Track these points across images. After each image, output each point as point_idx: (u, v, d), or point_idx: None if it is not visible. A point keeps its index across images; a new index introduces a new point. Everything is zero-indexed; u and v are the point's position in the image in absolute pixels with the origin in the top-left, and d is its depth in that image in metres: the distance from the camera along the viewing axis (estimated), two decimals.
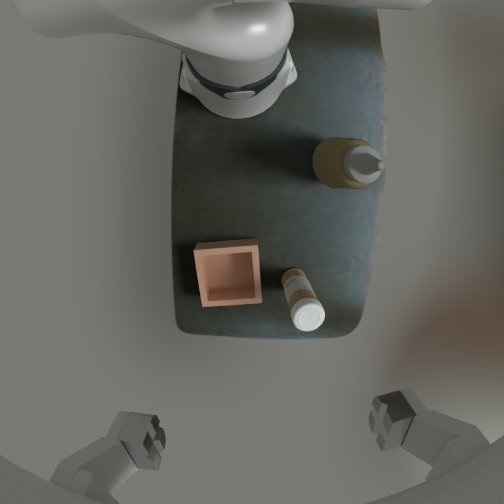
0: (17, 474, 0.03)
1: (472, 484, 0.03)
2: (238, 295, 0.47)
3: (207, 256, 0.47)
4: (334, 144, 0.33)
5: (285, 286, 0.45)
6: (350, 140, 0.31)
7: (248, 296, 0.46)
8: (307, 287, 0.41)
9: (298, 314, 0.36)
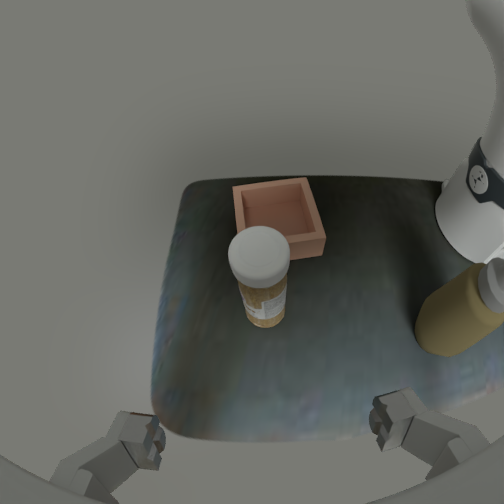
0: (17, 474, 0.03)
1: (472, 484, 0.03)
2: None
3: (290, 204, 0.39)
4: None
5: None
6: None
7: None
8: (285, 287, 0.24)
9: (266, 230, 0.21)
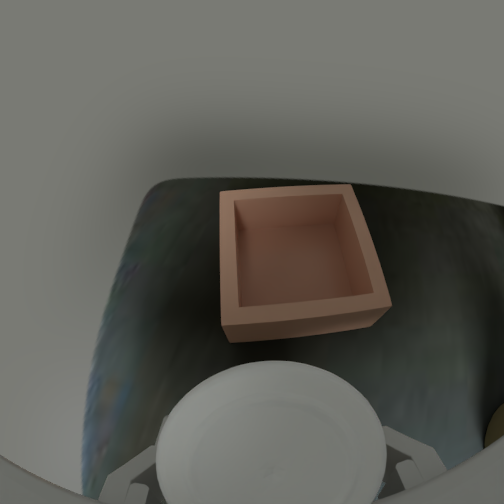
0: (17, 474, 0.03)
1: (472, 484, 0.03)
2: (238, 273, 0.18)
3: (319, 228, 0.22)
4: None
5: None
6: None
7: (238, 293, 0.16)
8: None
9: (313, 388, 0.05)
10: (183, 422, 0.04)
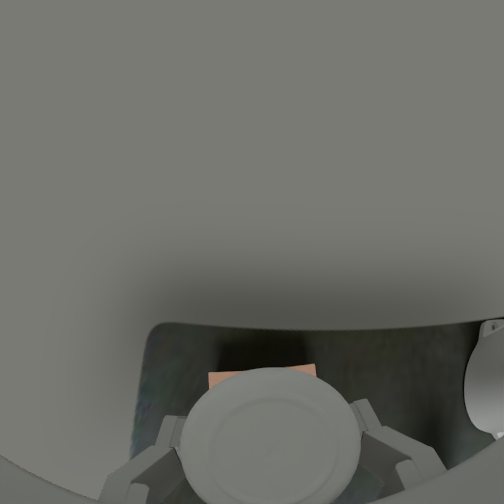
0: (17, 474, 0.03)
1: (472, 484, 0.03)
2: None
3: None
4: None
5: None
6: None
7: None
8: None
9: (299, 387, 0.06)
10: (201, 418, 0.06)
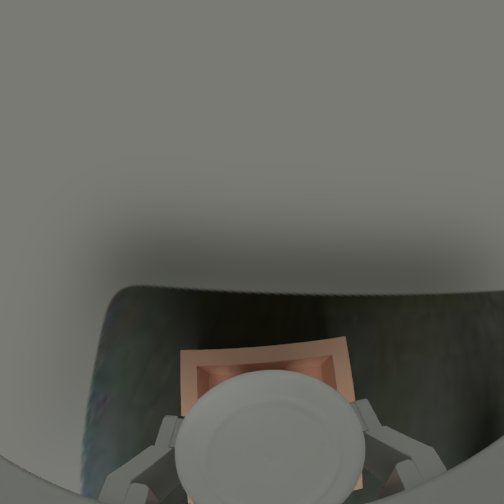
0: (17, 474, 0.03)
1: (472, 484, 0.03)
2: None
3: (302, 373, 0.18)
4: None
5: None
6: None
7: None
8: None
9: (300, 391, 0.06)
10: (197, 423, 0.05)
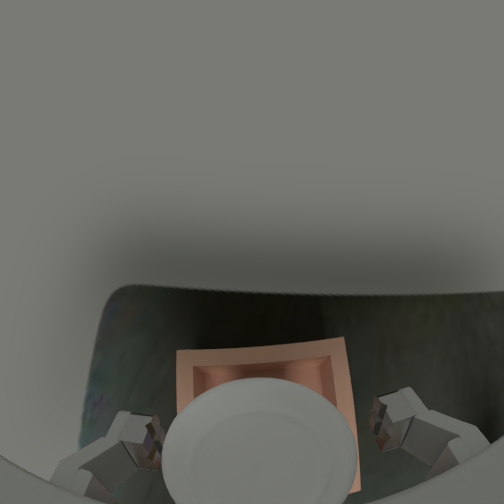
0: (17, 474, 0.03)
1: (472, 484, 0.03)
2: None
3: (300, 373, 0.18)
4: None
5: None
6: None
7: None
8: None
9: (290, 401, 0.05)
10: (183, 431, 0.05)
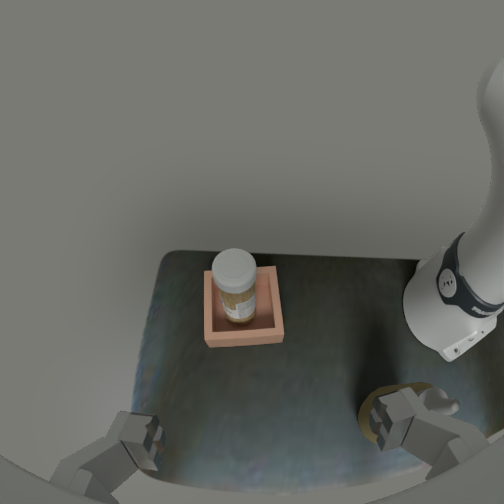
0: (17, 474, 0.03)
1: (472, 484, 0.03)
2: (213, 314, 0.37)
3: (259, 287, 0.41)
4: None
5: None
6: None
7: (212, 325, 0.35)
8: (254, 294, 0.32)
9: (240, 251, 0.29)
10: (217, 258, 0.29)
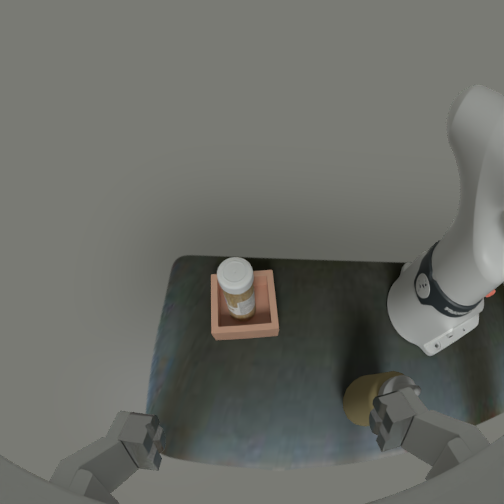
0: (17, 474, 0.03)
1: (472, 484, 0.03)
2: (218, 312, 0.43)
3: (258, 288, 0.48)
4: None
5: None
6: None
7: (218, 321, 0.42)
8: (253, 294, 0.39)
9: (240, 260, 0.35)
10: (221, 265, 0.35)
